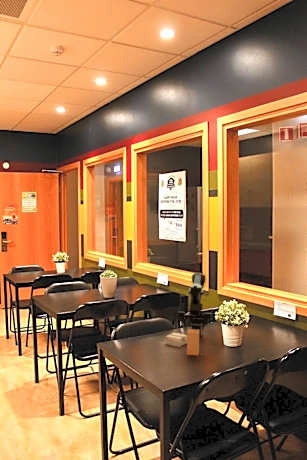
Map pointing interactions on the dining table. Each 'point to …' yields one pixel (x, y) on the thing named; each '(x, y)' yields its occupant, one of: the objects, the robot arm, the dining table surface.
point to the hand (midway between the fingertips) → (193, 330)
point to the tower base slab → (176, 343)
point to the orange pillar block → (193, 342)
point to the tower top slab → (176, 338)
